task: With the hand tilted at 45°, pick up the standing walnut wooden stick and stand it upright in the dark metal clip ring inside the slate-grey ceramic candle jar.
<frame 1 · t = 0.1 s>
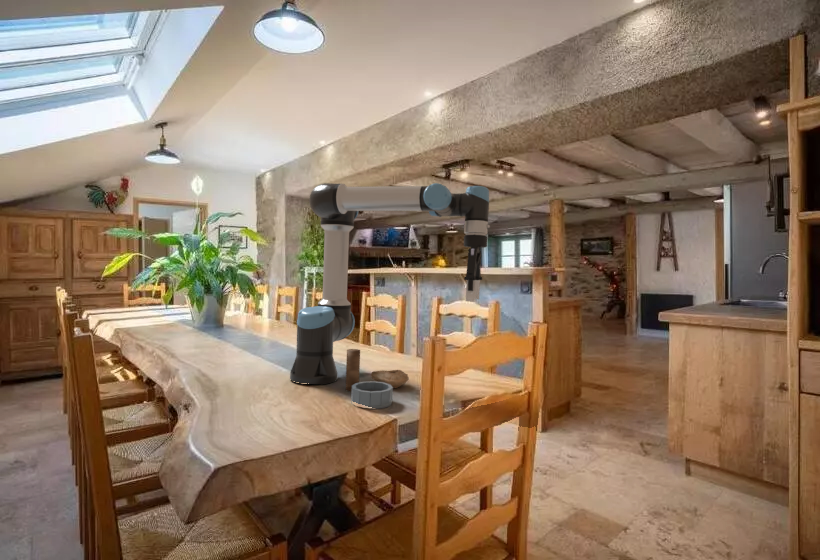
hand: (472, 300, 141), 28 cm above the table, tool pointing down, fingers open, 13 cm apart
walnut wick stick: (352, 389, 132), on the table
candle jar: (371, 402, 119), on the table
pottery oil lamp: (389, 386, 138), on the table
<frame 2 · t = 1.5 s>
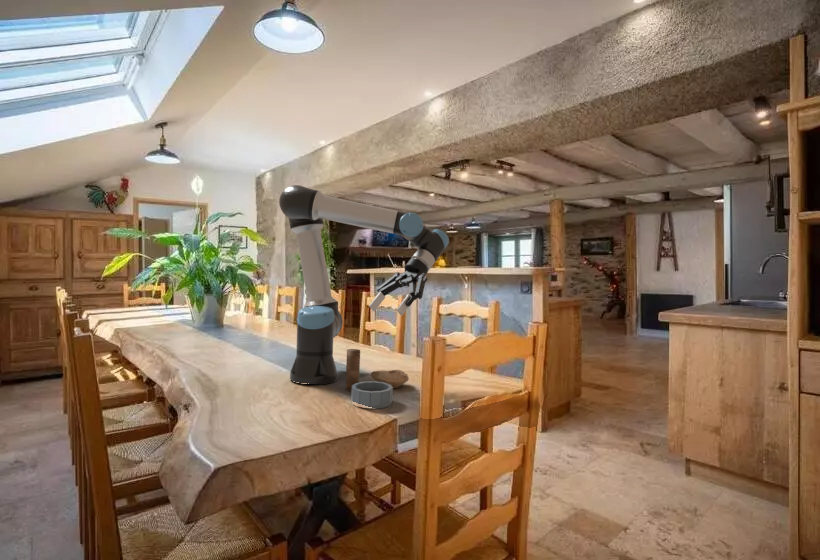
hand: (384, 310, 139), 24 cm above the table, tool tilted 45°, fingers open, 13 cm apart
nothing on the table moved.
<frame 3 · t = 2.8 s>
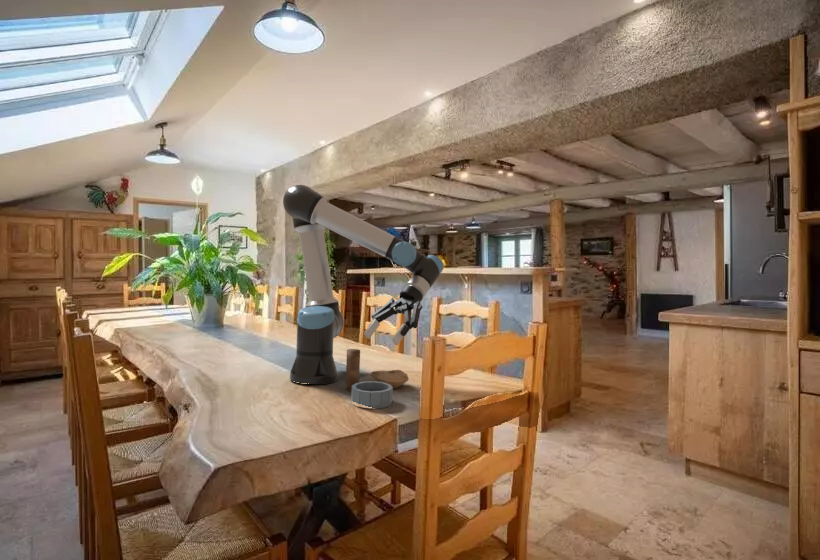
hand: (379, 339, 138), 14 cm above the table, tool tilted 45°, fingers open, 13 cm apart
nothing on the table moved.
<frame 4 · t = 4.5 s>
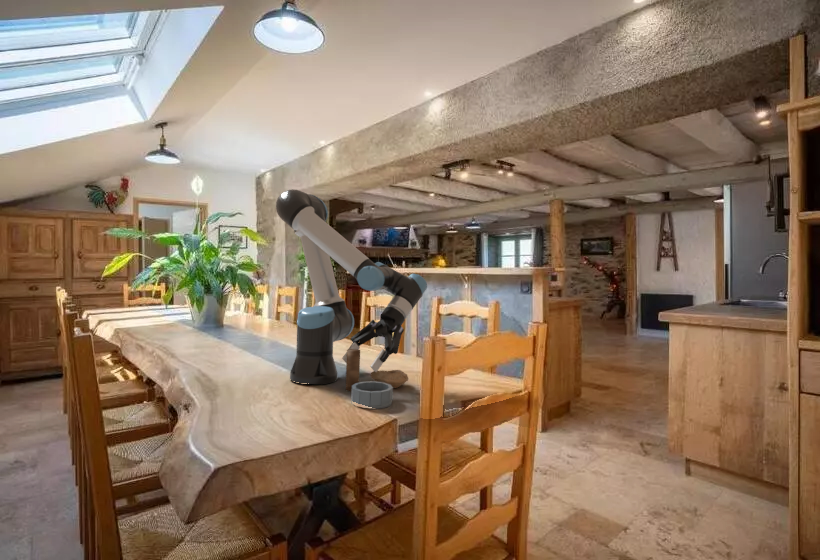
hand: (358, 365, 132), 7 cm above the table, tool tilted 45°, fingers open, 13 cm apart
nothing on the table moved.
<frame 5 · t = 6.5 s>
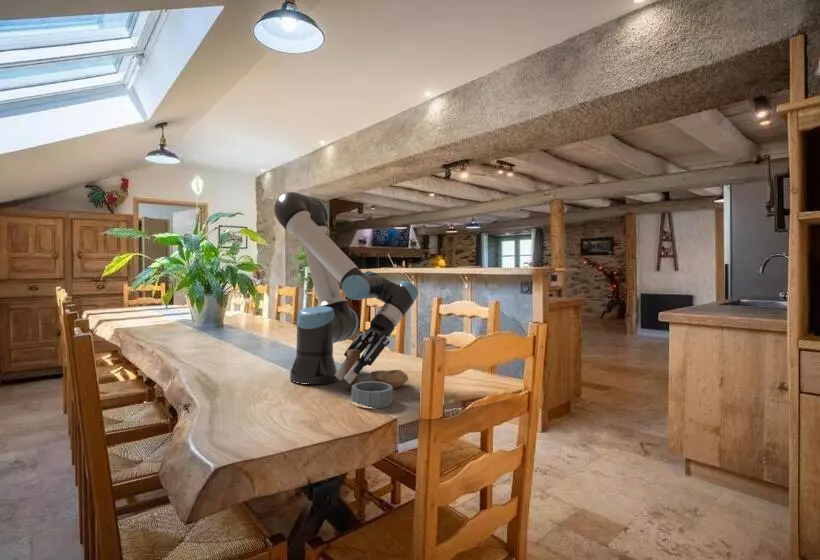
hand: (342, 379, 129), 4 cm above the table, tool tilted 45°, fingers closed on walnut wick stick, 4 cm apart
walnut wick stick: (352, 389, 132), on the table, touching gripper
everything else where it was.
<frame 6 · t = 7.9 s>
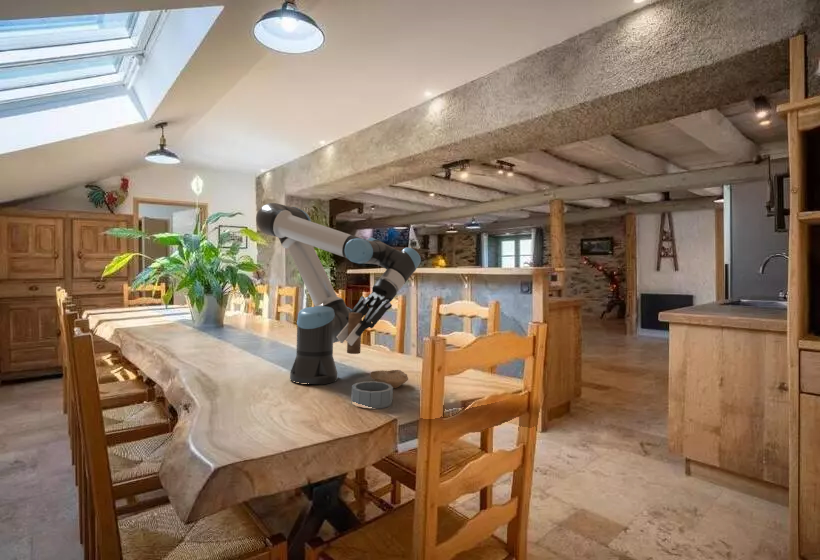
hand: (343, 341, 129), 15 cm above the table, tool tilted 45°, fingers closed on walnut wick stick, 4 cm apart
walnut wick stick: (353, 352, 131), point 11 cm above the table, touching gripper
everything else where it was.
when the fingers open (7 cm above the table, at t = 12.6 s): walnut wick stick drops 2 cm, resting on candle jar.
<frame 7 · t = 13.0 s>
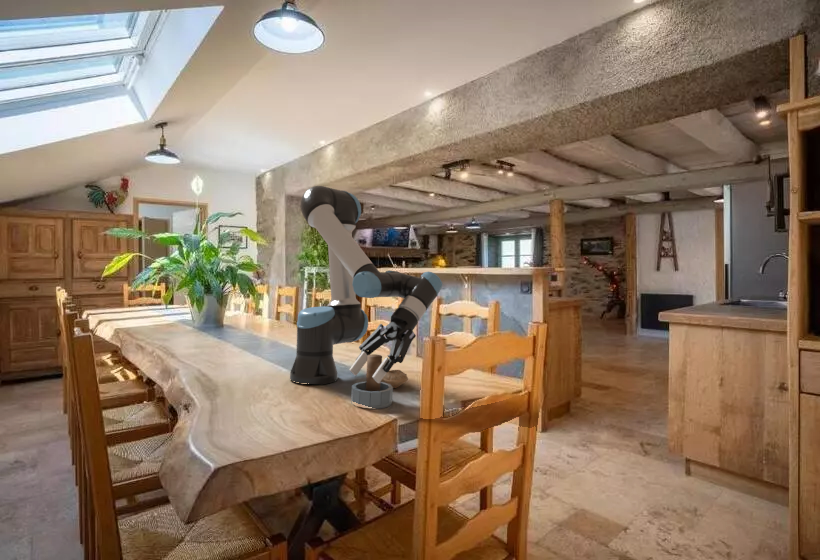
hand: (363, 376, 117), 8 cm above the table, tool tilted 45°, fingers open, 9 cm apart
walnut wick stick: (372, 399, 119), point 1 cm above the table, touching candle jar
everything else where it was.
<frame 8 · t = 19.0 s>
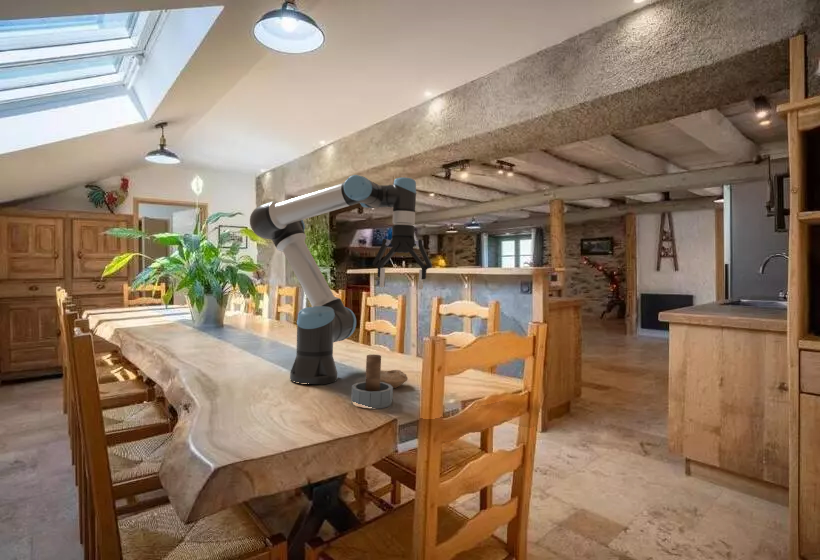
hand: (401, 288, 146), 31 cm above the table, tool pointing down, fingers open, 13 cm apart
nothing on the table moved.
at the end: walnut wick stick 0.1 cm off-centre on the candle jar, point 1.0 cm above the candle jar's base; walnut wick stick tilted 0°; the gripper is holding nothing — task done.
